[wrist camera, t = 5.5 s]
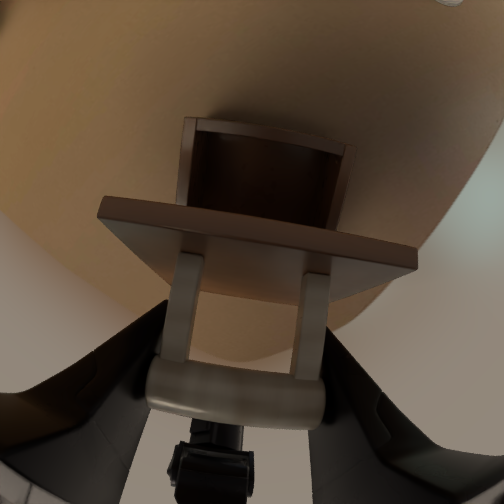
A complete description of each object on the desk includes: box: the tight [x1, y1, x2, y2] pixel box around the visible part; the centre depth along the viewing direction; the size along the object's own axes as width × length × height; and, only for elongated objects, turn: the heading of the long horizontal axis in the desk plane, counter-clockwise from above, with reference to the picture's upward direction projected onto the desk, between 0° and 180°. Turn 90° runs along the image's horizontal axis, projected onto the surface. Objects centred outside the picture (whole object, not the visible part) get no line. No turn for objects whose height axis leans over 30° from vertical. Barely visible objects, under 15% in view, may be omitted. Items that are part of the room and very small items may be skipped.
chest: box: [176, 117, 357, 231], centre depth 15 cm, size 8×8×5 cm
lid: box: [97, 196, 418, 430], centre depth 10 cm, size 9×8×5 cm
